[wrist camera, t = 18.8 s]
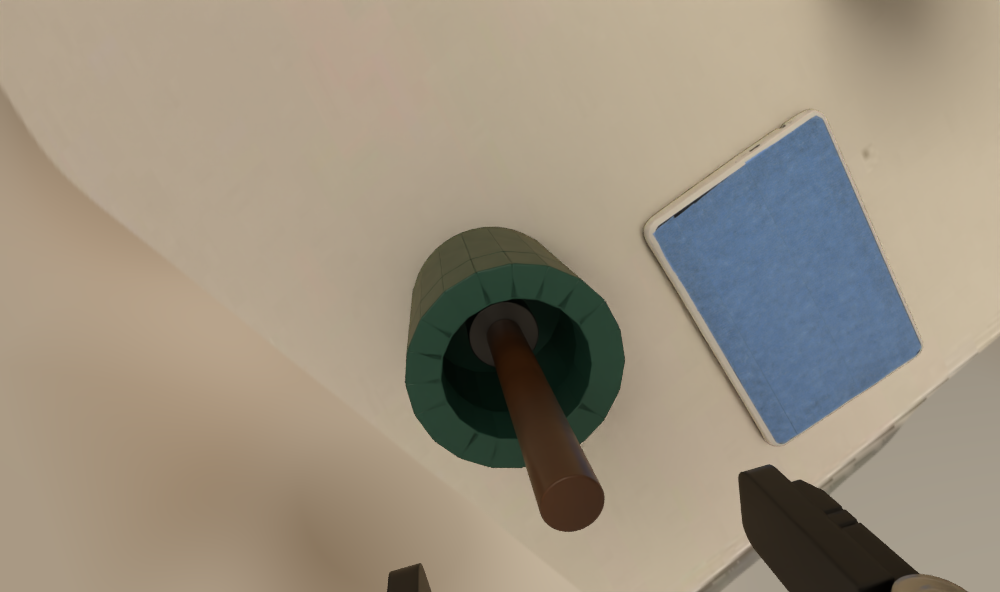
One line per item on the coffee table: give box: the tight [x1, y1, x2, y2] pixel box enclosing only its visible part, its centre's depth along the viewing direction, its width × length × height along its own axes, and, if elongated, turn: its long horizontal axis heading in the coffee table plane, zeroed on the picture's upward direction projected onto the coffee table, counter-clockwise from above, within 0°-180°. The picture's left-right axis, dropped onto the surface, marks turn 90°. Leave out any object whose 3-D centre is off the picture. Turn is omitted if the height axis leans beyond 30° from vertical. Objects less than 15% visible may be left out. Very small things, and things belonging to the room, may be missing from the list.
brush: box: [465, 299, 604, 532], centre depth 22 cm, size 4×4×18 cm
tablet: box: [643, 109, 923, 446], centre depth 33 cm, size 19×13×1 cm, turn 35°
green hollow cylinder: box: [405, 227, 625, 468], centre depth 27 cm, size 9×9×10 cm
